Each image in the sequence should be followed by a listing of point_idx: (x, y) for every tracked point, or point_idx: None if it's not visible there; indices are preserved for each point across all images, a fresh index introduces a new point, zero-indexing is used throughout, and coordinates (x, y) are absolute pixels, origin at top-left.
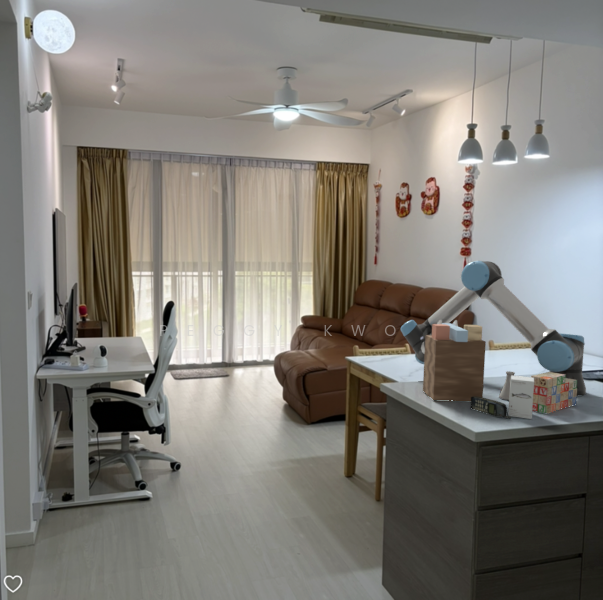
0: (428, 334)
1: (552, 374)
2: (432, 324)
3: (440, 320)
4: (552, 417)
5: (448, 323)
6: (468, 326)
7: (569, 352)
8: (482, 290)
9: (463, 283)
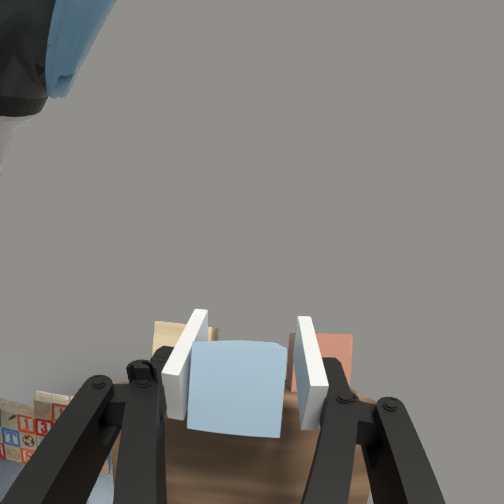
0: (376, 461)
1: (56, 398)
2: (352, 335)
3: (305, 320)
4: (111, 453)
5: (216, 343)
6: (218, 329)
7: None
8: (38, 103)
9: (102, 11)
